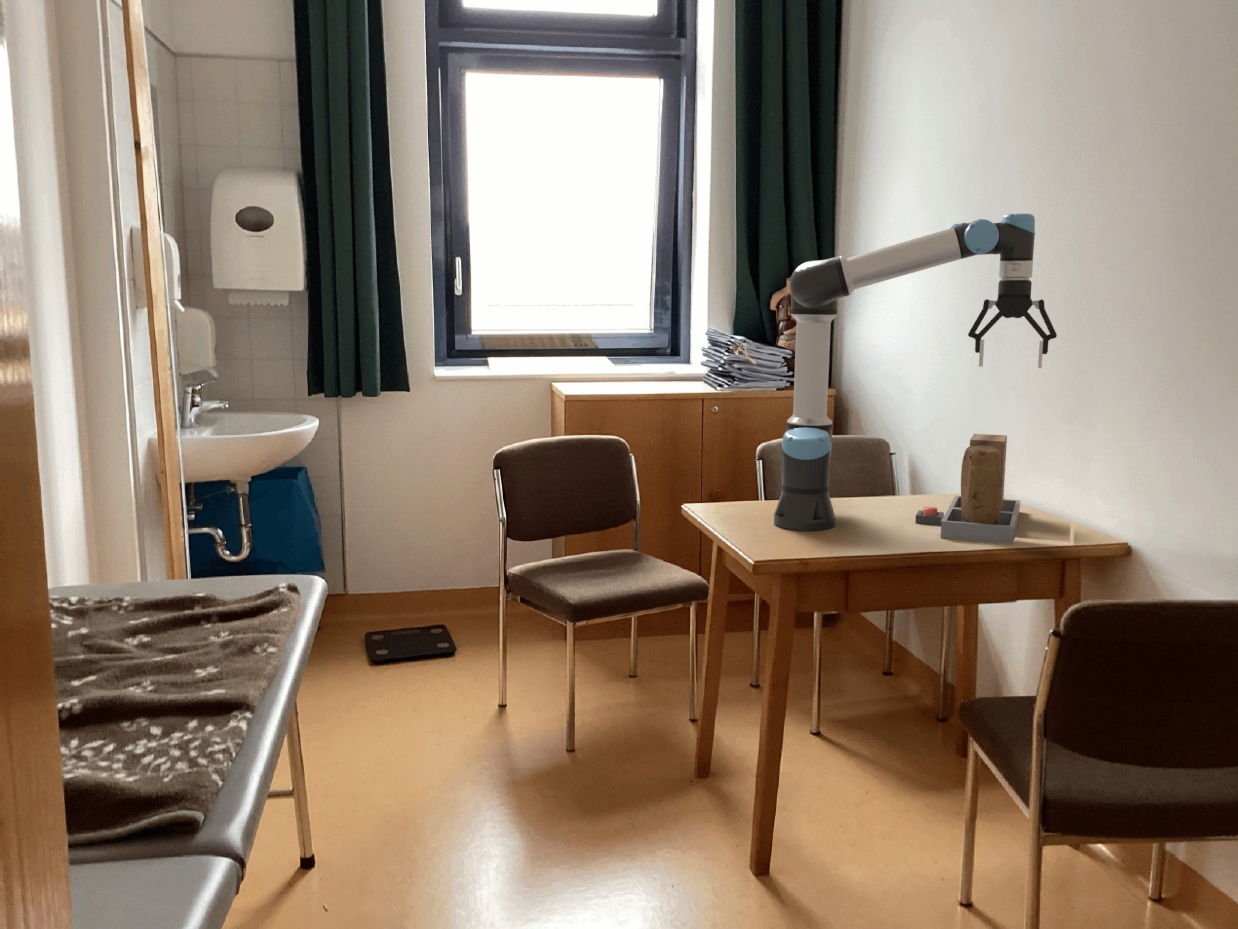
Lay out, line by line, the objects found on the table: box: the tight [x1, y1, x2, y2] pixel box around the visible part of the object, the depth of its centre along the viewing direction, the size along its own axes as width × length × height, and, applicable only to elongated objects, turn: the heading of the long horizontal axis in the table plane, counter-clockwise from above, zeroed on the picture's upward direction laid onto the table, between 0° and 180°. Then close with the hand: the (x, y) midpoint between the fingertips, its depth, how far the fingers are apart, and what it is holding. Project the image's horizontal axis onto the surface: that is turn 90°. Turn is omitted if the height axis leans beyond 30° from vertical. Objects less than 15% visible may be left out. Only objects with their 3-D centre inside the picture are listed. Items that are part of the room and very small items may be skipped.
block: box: [960, 445, 1001, 525], centre depth 249 cm, size 11×8×20 cm
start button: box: [922, 506, 938, 516], centre depth 259 cm, size 3×3×4 cm
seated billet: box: [969, 433, 1008, 511], centre depth 264 cm, size 8×11×20 cm
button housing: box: [915, 509, 945, 526], centre depth 259 cm, size 6×6×3 cm
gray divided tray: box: [940, 495, 1021, 545], centre depth 258 cm, size 16×32×4 cm, turn 157°
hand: (1010, 367), depth 257 cm, fingers open, 13 cm apart
